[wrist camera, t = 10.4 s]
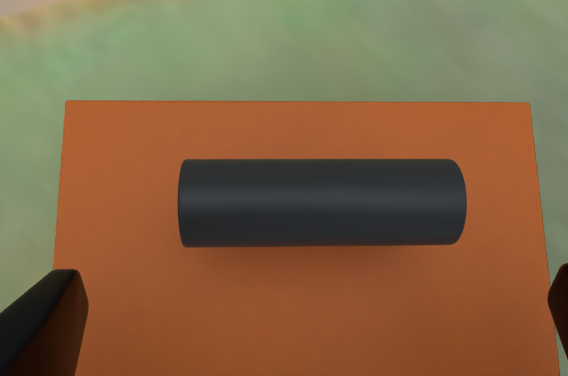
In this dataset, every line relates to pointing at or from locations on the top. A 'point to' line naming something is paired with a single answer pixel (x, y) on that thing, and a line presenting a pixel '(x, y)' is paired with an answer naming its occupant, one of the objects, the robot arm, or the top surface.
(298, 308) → the lid
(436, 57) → the top surface
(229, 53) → the top surface
